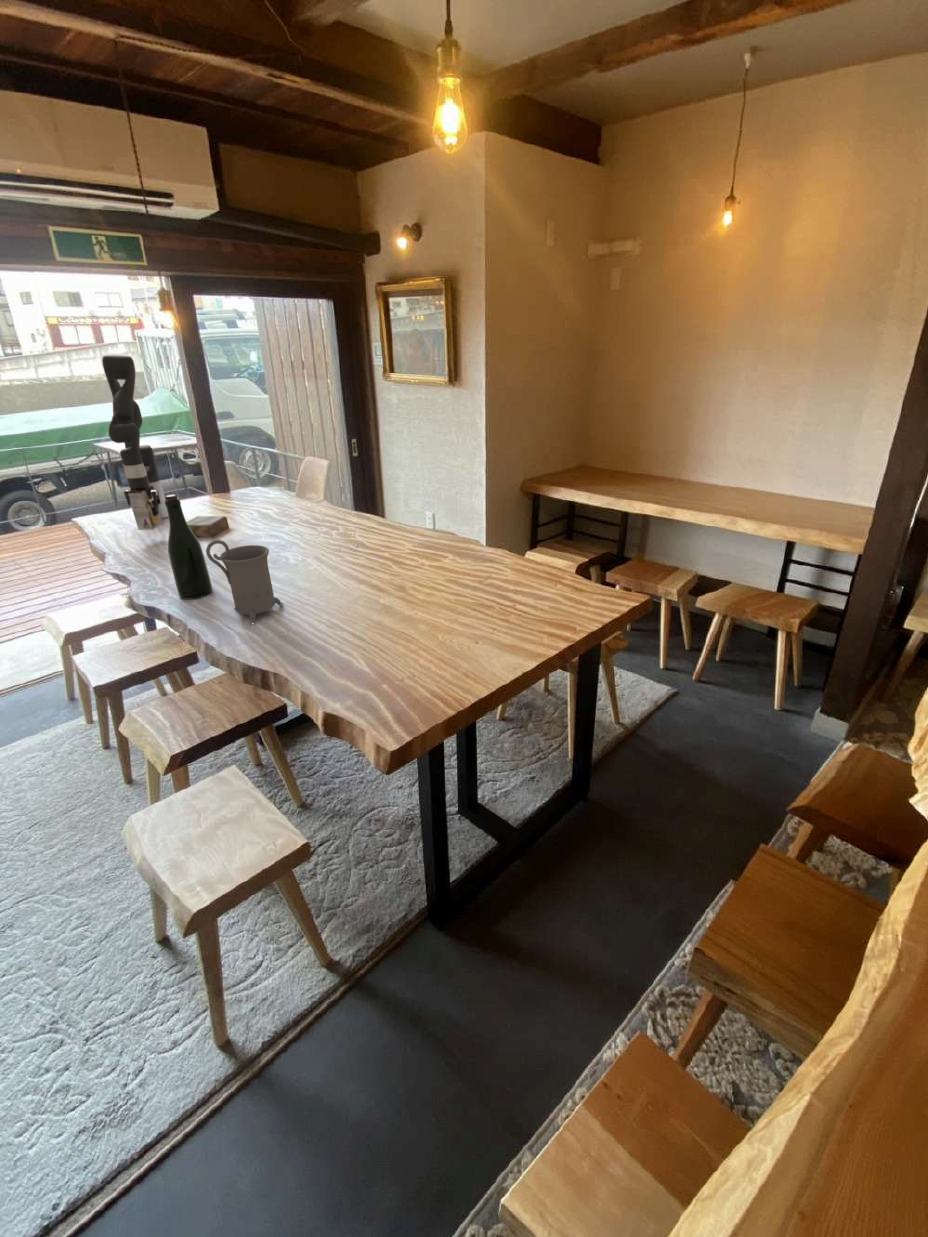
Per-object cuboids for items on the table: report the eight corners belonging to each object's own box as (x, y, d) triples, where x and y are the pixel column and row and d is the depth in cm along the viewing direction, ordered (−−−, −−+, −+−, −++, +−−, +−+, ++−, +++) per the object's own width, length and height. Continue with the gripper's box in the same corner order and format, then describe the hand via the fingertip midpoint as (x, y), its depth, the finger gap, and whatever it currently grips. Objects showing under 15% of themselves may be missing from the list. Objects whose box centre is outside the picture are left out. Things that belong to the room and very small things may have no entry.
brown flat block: (182, 537, 252) (179, 525, 250) (199, 527, 264) (196, 515, 262) (213, 537, 250) (210, 525, 248) (229, 527, 262) (226, 515, 260)
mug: (273, 597, 190) (258, 522, 179) (293, 612, 180) (278, 533, 169) (215, 615, 180) (195, 537, 169) (232, 631, 170) (212, 549, 159)
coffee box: (148, 523, 252) (138, 485, 244) (163, 522, 251) (153, 485, 244) (137, 530, 243) (126, 491, 236) (153, 529, 243) (142, 491, 236)
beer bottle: (202, 585, 203) (178, 489, 188) (219, 591, 197) (195, 493, 182) (173, 595, 196) (145, 496, 181) (189, 602, 189) (162, 501, 175)
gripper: (158, 473, 240) (168, 512, 247) (126, 472, 242) (137, 512, 249) (147, 477, 233) (158, 518, 241) (114, 477, 235) (126, 517, 243)
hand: (147, 515), depth 245 cm, fingers closed on coffee box, 6 cm apart
